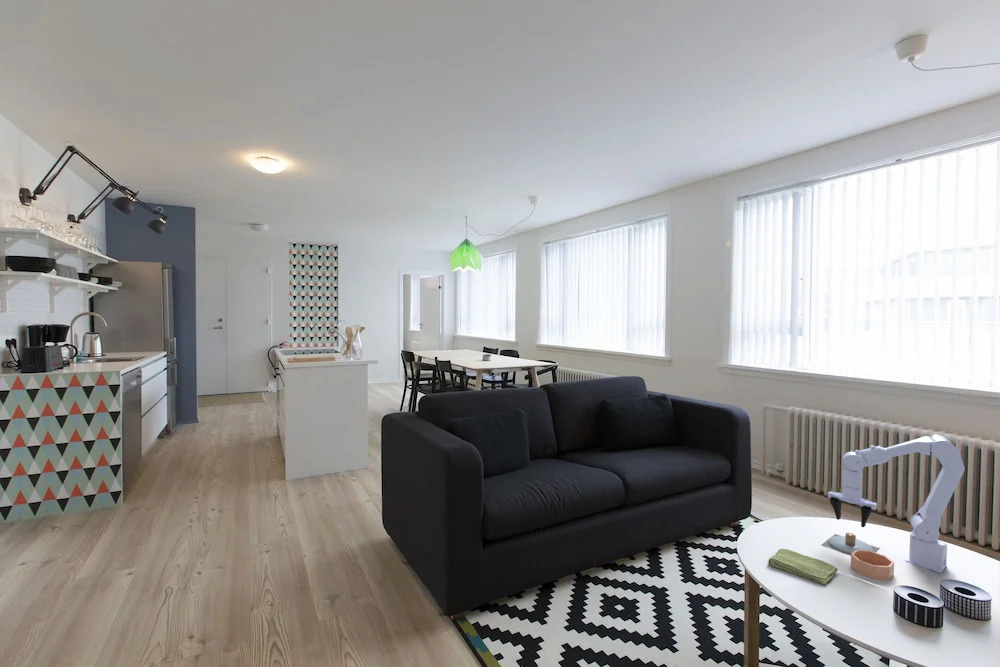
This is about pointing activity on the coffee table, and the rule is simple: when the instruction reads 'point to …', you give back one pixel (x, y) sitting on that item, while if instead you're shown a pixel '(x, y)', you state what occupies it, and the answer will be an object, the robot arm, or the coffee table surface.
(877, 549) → the mat
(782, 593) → the coffee table surface
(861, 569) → the bowl
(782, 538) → the coffee table surface
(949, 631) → the coffee table surface
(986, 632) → the coffee table surface
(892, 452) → the robot arm
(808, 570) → the washcloth
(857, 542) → the lid
